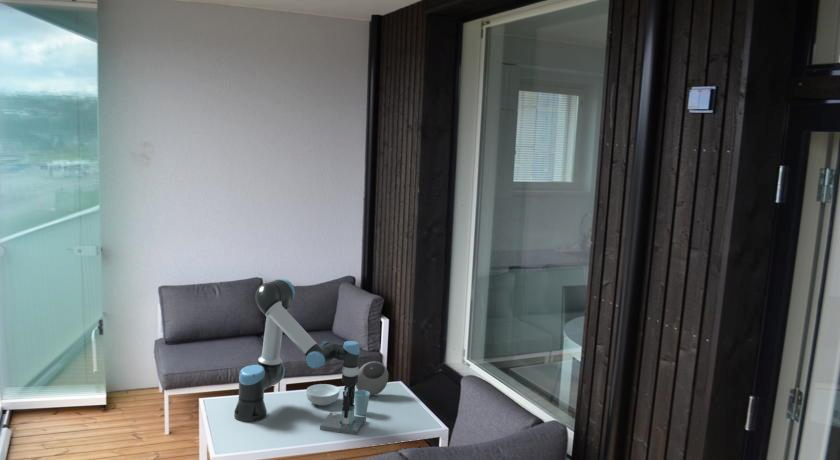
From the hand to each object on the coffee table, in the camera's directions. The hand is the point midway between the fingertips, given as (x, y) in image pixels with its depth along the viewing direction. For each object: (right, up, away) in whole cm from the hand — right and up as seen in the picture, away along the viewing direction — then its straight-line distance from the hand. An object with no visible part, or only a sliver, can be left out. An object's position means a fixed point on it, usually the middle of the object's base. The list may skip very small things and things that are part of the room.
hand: (347, 421), depth 331 cm
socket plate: (-2, -2, +1) cm, 3 cm away
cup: (+5, 0, +17) cm, 17 cm away
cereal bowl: (-16, +2, +26) cm, 31 cm away
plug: (0, -2, 0) cm, 2 cm away
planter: (+8, +3, +40) cm, 41 cm away
